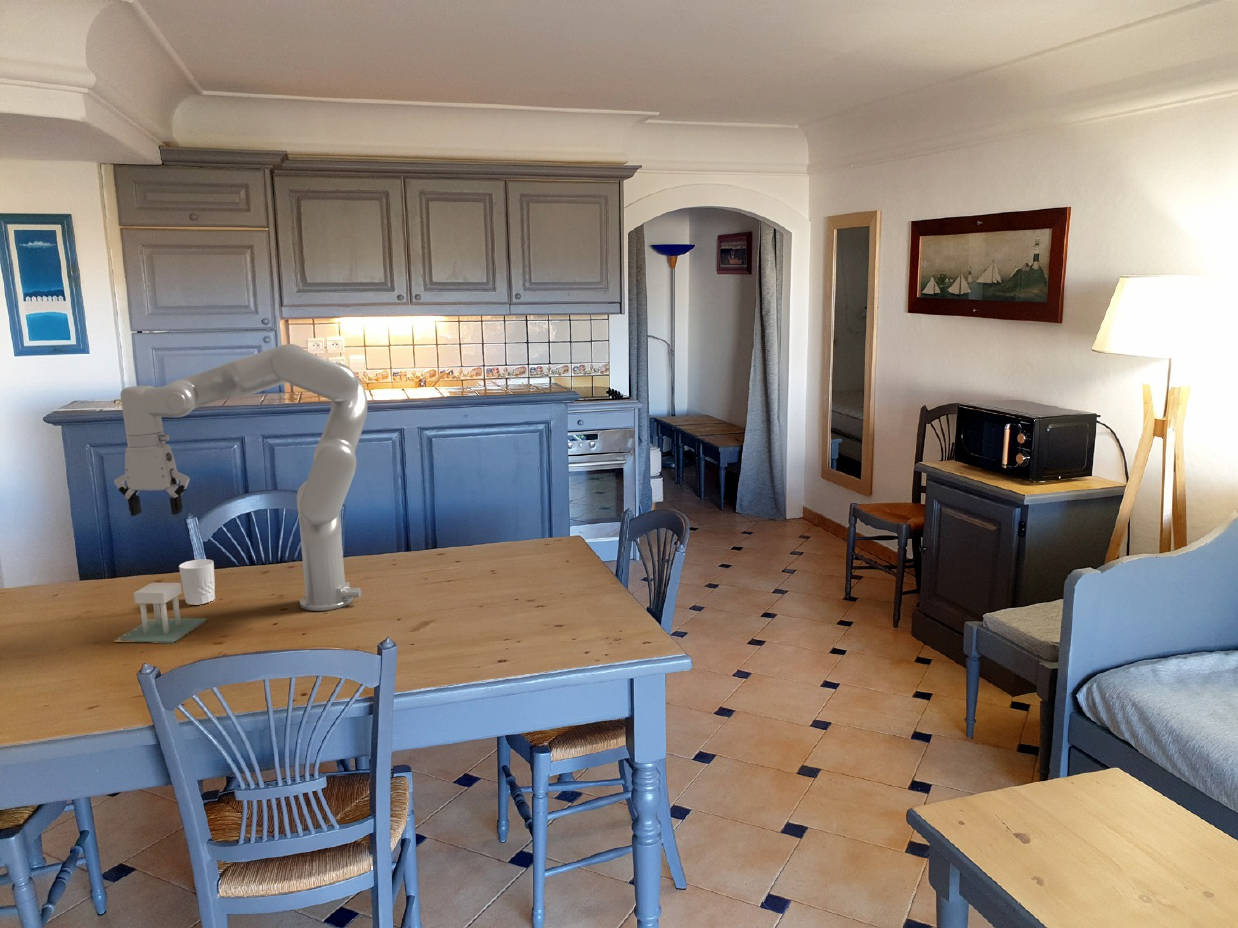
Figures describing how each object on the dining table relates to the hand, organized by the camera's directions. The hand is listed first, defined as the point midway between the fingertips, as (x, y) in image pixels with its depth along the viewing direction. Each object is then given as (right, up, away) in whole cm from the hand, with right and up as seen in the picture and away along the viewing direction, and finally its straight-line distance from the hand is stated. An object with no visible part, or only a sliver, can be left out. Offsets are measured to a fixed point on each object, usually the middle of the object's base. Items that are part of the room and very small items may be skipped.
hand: (156, 513), depth 207 cm
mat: (+1, -27, 0) cm, 27 cm away
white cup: (+1, -24, +20) cm, 31 cm away
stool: (+1, -27, 0) cm, 27 cm away
